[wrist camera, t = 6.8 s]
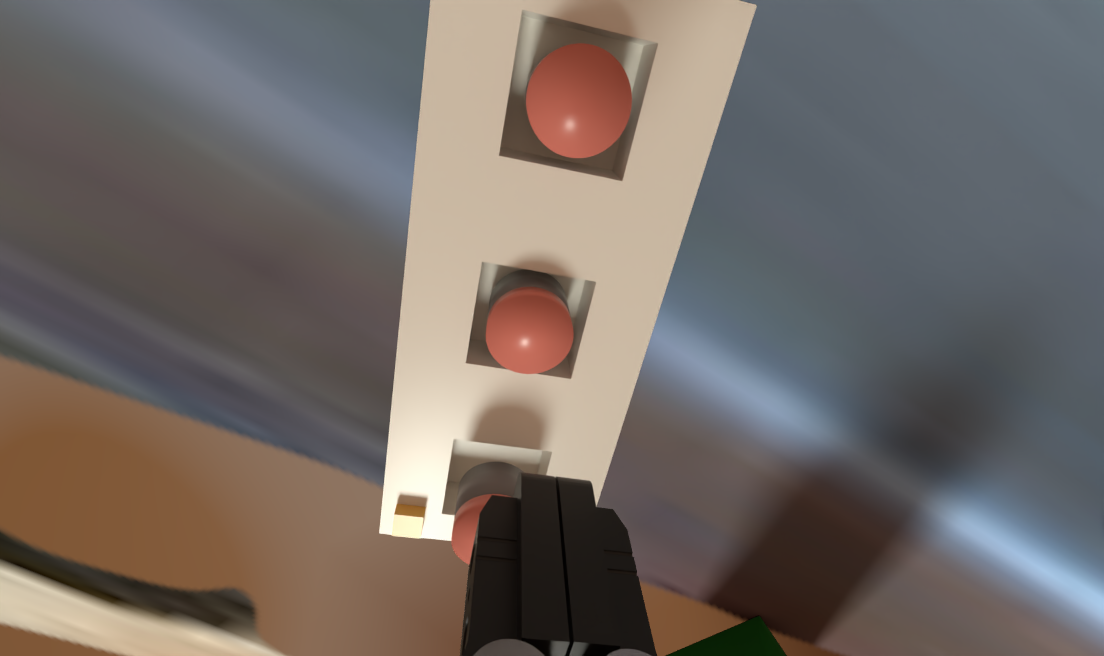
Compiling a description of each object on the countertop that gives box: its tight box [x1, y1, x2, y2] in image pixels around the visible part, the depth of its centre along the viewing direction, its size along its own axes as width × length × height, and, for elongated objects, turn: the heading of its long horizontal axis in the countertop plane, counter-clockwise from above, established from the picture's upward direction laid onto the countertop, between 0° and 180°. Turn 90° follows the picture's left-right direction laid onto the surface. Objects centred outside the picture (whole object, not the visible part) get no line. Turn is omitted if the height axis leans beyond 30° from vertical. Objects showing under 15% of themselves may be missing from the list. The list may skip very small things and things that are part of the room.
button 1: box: [525, 43, 632, 158], centre depth 16 cm, size 3×3×3 cm
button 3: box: [451, 462, 523, 564], centre depth 21 cm, size 3×3×3 cm
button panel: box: [379, 0, 757, 541], centre depth 20 cm, size 9×26×5 cm, turn 168°
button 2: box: [486, 269, 574, 374], centre depth 19 cm, size 3×3×3 cm
